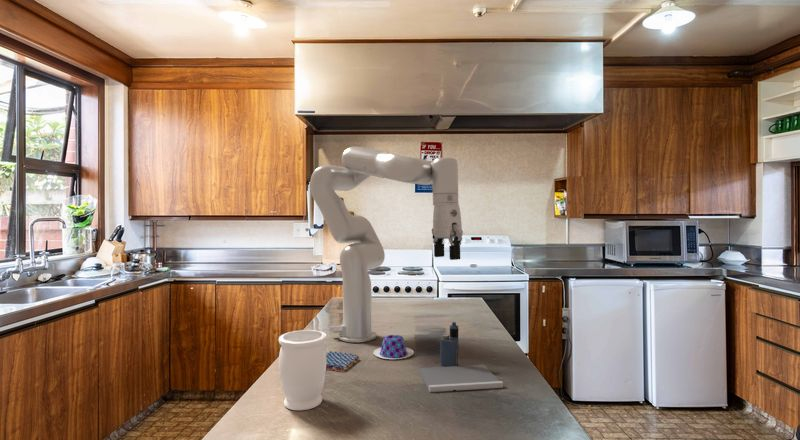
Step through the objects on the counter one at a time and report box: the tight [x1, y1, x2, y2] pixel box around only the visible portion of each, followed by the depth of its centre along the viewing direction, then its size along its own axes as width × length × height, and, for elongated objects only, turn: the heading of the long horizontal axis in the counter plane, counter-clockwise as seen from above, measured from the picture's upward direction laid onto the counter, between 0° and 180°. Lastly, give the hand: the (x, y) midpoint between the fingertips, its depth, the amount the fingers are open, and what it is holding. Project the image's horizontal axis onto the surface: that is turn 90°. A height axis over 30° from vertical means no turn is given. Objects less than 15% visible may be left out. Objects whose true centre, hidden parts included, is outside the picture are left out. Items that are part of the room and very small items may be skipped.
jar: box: [278, 329, 327, 411], centre depth 97 cm, size 11×10×15 cm
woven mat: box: [326, 350, 360, 373], centre depth 122 cm, size 10×11×2 cm
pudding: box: [373, 334, 415, 360], centre depth 130 cm, size 12×12×5 cm
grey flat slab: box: [418, 364, 504, 393], centre depth 111 cm, size 18×14×1 cm
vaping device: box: [439, 321, 460, 367], centre depth 120 cm, size 3×5×12 cm, turn 58°
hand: (446, 258), depth 129 cm, fingers open, 9 cm apart
